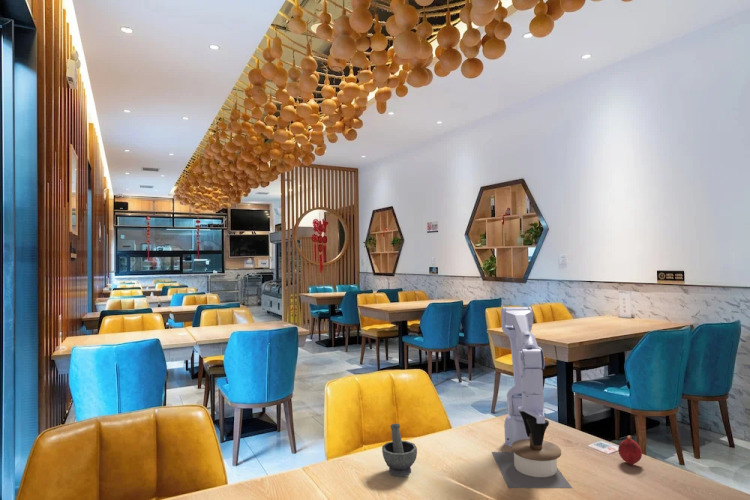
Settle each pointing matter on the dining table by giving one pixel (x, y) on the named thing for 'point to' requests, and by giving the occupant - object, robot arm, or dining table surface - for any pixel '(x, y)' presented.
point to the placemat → (523, 481)
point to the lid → (536, 450)
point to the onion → (630, 451)
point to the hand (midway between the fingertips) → (534, 440)
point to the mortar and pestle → (399, 454)
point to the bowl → (535, 467)
